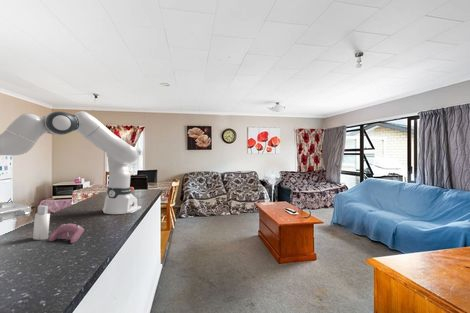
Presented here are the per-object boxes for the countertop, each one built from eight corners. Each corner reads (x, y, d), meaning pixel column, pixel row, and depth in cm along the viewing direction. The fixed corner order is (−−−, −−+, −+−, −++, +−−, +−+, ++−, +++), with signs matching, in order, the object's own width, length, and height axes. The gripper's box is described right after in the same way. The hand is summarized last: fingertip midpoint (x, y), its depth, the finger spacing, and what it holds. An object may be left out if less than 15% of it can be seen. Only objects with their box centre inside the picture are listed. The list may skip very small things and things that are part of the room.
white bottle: (38, 236, 86) (41, 204, 86) (50, 237, 85) (52, 205, 85) (30, 238, 83) (33, 206, 83) (42, 240, 82) (44, 207, 82)
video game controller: (80, 244, 84) (87, 225, 87) (71, 243, 80) (80, 223, 83) (56, 242, 85) (64, 223, 88) (46, 240, 81) (55, 221, 84)
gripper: (-52, 211, 78) (-20, 214, 75) (14, 201, 98) (41, 204, 96) (-54, 229, 77) (-21, 233, 75) (13, 215, 98) (40, 219, 96)
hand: (14, 217), depth 86 cm, fingers open, 8 cm apart
